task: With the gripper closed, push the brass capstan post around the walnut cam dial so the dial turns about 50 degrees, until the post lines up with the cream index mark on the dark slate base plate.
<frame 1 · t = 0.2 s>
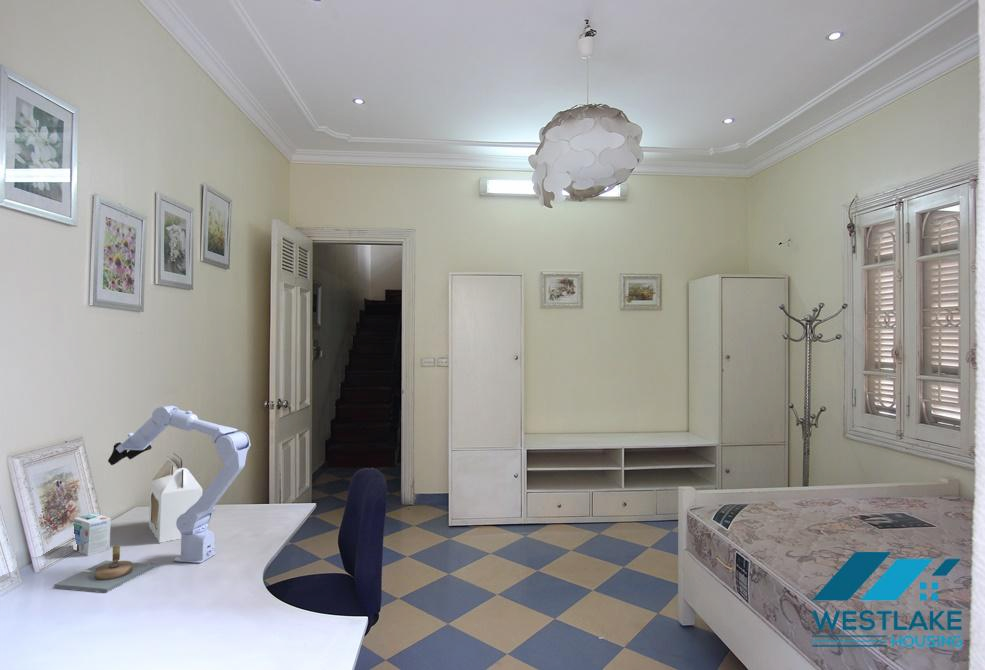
hand: (119, 459, 175), 31 cm above the table, tool tilted 45°, fingers open, 7 cm apart
light bulb box: (91, 550, 177), on the table
base plate: (106, 577, 156), on the table
gable box: (174, 531, 196), on the table
cam dial: (114, 561, 158), point 4 cm above the table, hinge at -50.0°
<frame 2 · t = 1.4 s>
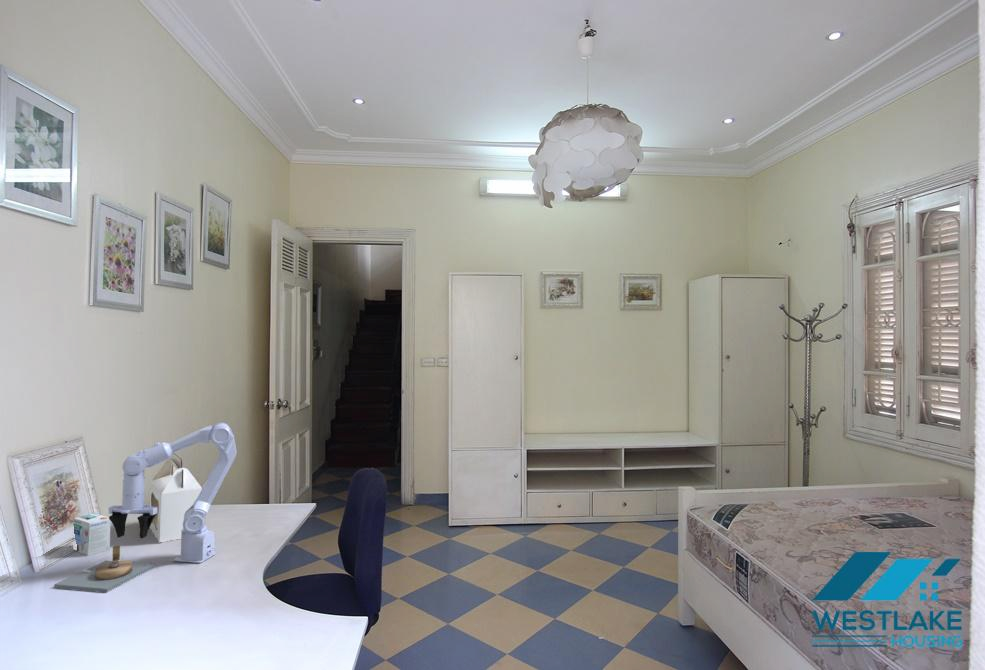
hand: (132, 536, 164), 9 cm above the table, tool pointing down, fingers open, 7 cm apart
nothing on the table moved.
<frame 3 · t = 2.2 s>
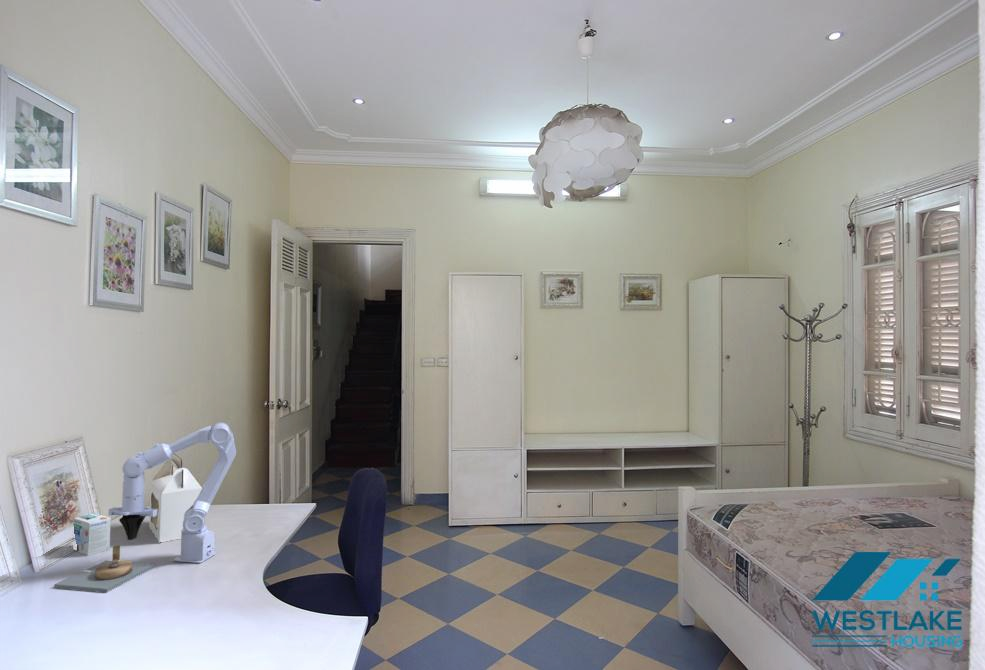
hand: (132, 538, 164), 9 cm above the table, tool pointing down, fingers closed
nothing on the table moved.
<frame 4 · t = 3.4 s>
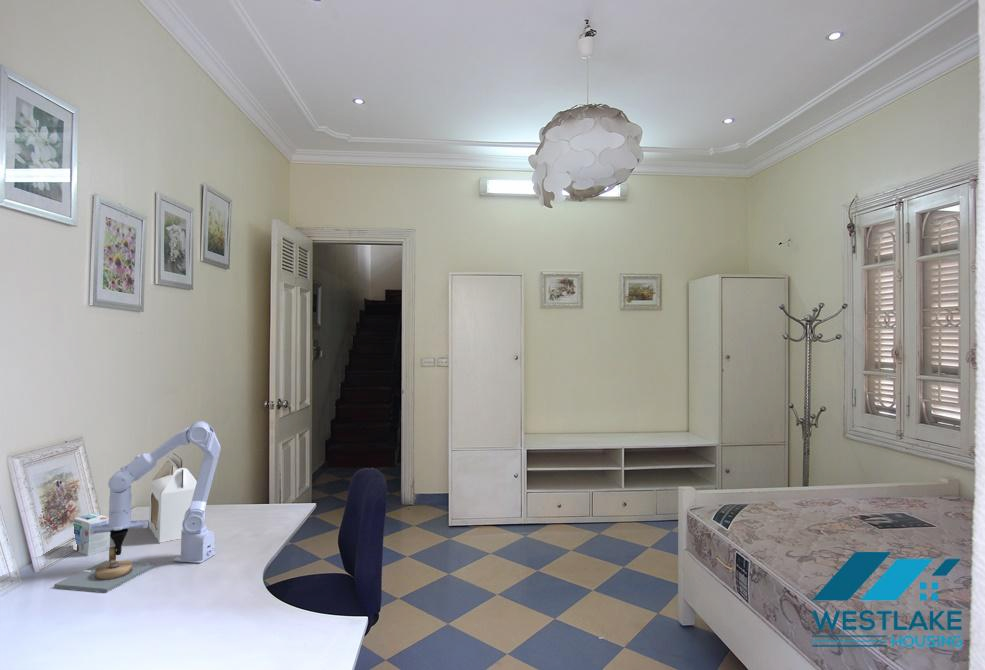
hand: (118, 554, 163), 4 cm above the table, tool pointing down, fingers closed
cam dial: (113, 561, 158), point 4 cm above the table, hinge at -42.6°, touching gripper
everything else where it was.
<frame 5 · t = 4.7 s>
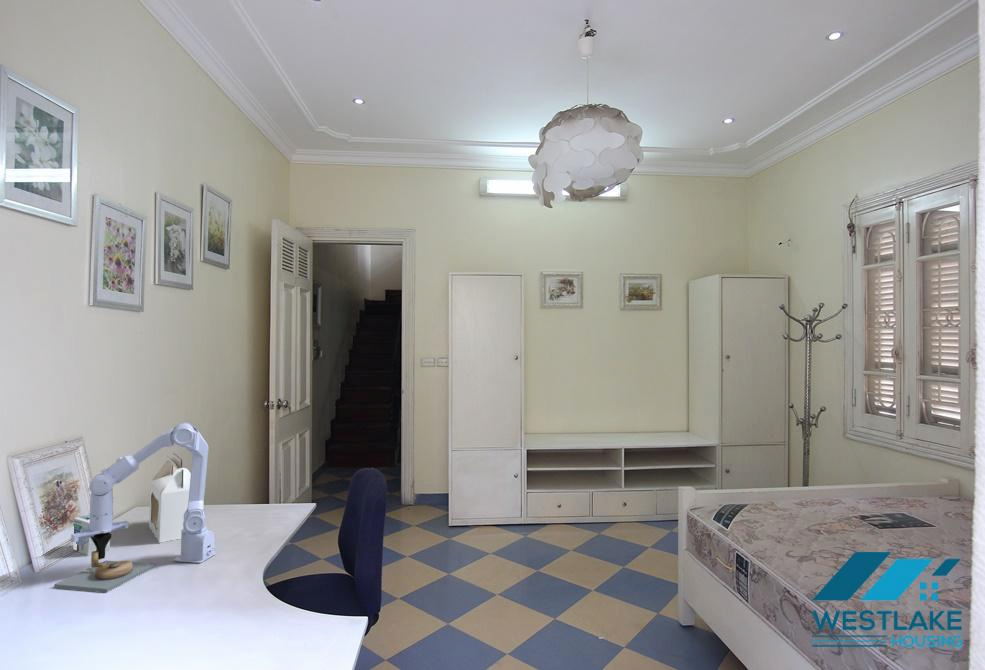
hand: (100, 558, 159), 4 cm above the table, tool pointing down, fingers closed, pressing on cam dial
cam dial: (109, 562, 157), point 4 cm above the table, hinge at -3.5°, touching gripper
everything else where it was.
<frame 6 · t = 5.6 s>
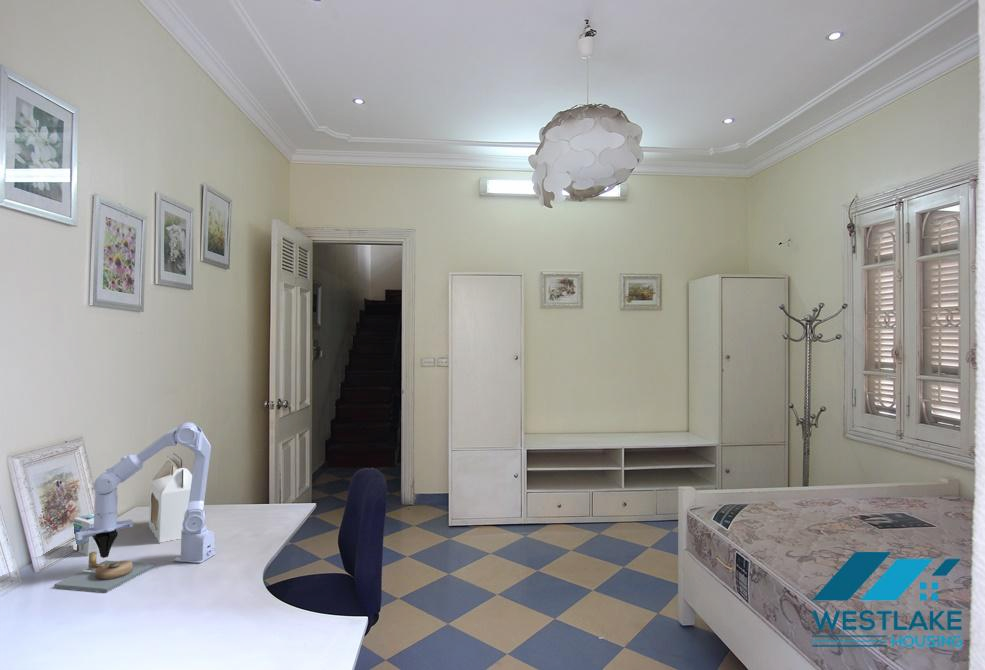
hand: (104, 556, 161), 4 cm above the table, tool pointing down, fingers closed
cam dial: (108, 563, 157), point 4 cm above the table, hinge at 3.1°
everything else where it was.
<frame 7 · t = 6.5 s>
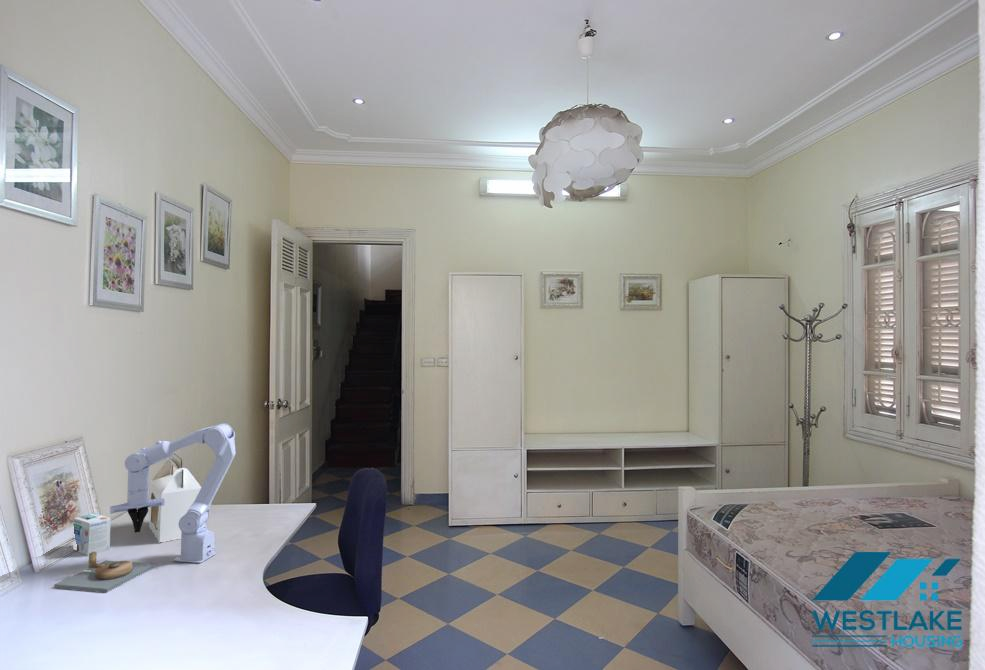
hand: (137, 531, 169), 9 cm above the table, tool pointing down, fingers closed
nothing on the table moved.
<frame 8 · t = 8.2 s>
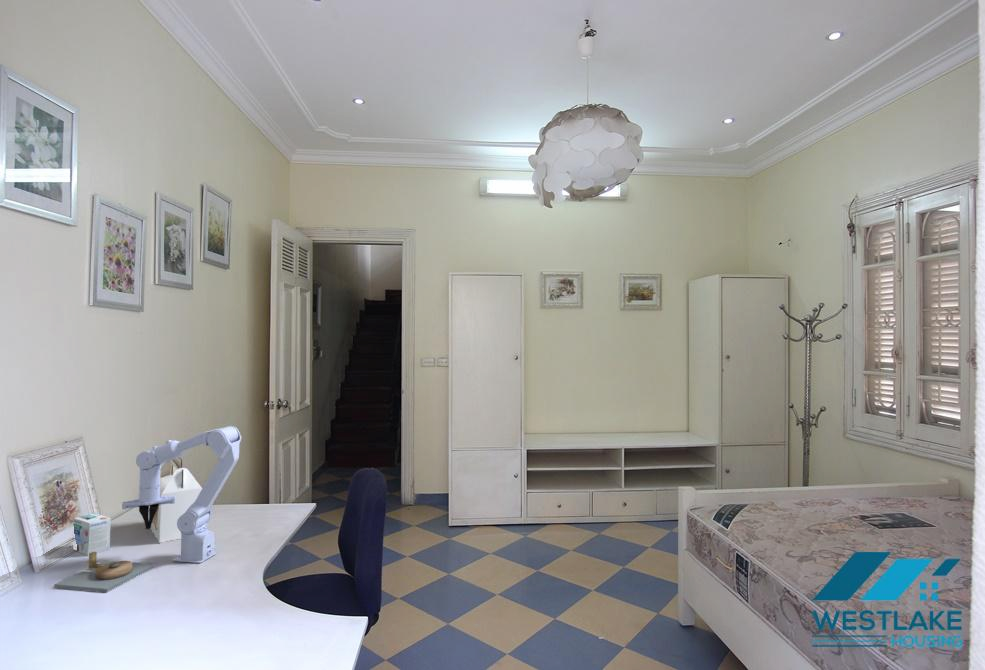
hand: (148, 527, 172), 9 cm above the table, tool pointing down, fingers closed
nothing on the table moved.
at the end: cam dial at +3° (first picture: -50°) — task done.
